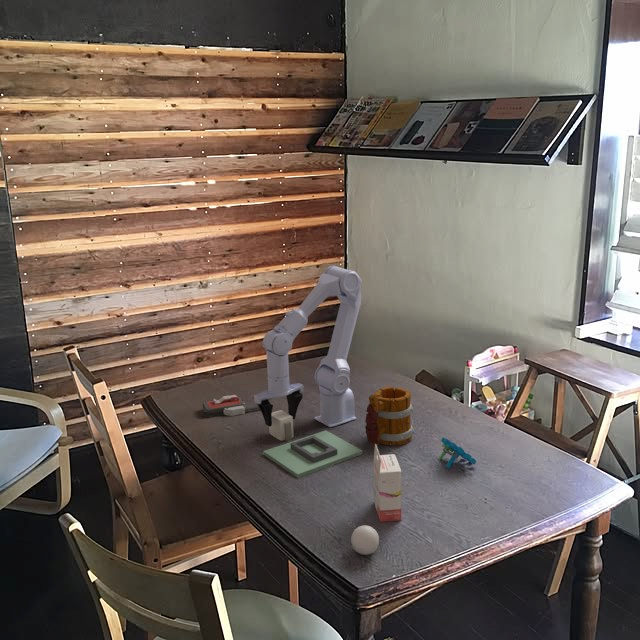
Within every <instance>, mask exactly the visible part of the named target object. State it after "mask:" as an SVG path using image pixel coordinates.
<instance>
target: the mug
mask: <svg viewBox="0 0 640 640" xmlns="http://www.w3.org/2000/svg"><path fill="white" fill-rule="evenodd" d="M411 398H412V394H411V392H410V391H409V390H407V389H405V388H402V387H394V386H386V387H385V386H384V387H382V388H379V389H378V390H376V391H374V394H370V395H369V396H368V401H369V404H368V406H367V408H366V414H365V415H366V416H365V427H364V429H365V434H366V436H367V440H368V442H369V443H370V444H371V446H372V447H375V444H376V446H377V447H378V445H379V444H381V445H384V446H402V445H406V444H408V443H409V442H412V439H413V434H414V432H415V430H414V427H413V425H412V423H411V422H412V421H411V420H412V419H411V414H412V413H413V411H414V408H413V405H412V403H411V402H412V401H411V400H412V399H411Z"/></svg>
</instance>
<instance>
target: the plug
mask: <svg viewBox="0 0 640 640" xmlns="http://www.w3.org/2000/svg"><path fill="white" fill-rule="evenodd" d="M268 428H269V429H268V430H269V432H268V433H269V435H271V436H273V437H274V438H275V439H277V440H279V441H281V442H282V441H287V442H288V441H291V440H293V438H294V419H293V417H292V416H291V415H289V413H287V412H285V411H284V410H282V409H280V410H279V409H278V410H276V411H272V426H270V427H269V426H268Z"/></svg>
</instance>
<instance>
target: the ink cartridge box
mask: <svg viewBox="0 0 640 640" xmlns="http://www.w3.org/2000/svg"><path fill="white" fill-rule="evenodd" d="M373 490H374V491H373V503H374V507H375V510H376V512H377V516H378V519H379V522H380V523H381V522H395V521H398V522H399V521H402V469H401V466H400V464H399V461H398V459H397V455H396V454H381V455H380V451H379V449H378V445H377V446H376V444H375V446H374V452H373Z"/></svg>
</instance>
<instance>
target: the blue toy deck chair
mask: <svg viewBox="0 0 640 640" xmlns="http://www.w3.org/2000/svg"><path fill="white" fill-rule="evenodd" d="M440 441H441V442H442V443H443V444H442V447H443V449H442V451H443V452H442V453H441V455H440V456H439V457H438V460H440V461H442V460H443V458H444V457H445V456H446V455H449V456H451V457H450V459H449V460H448V462H447V463H446V464H445V467H446V468H448V469H450V468H451V466H452V465H453V464H454V462H455V461H456V459H457V460H458V458H459V457H461V458H462V459H464V460H466V461H467V462H469V463H470V464H473V465H474V466H475V465H476V464H477V460H476V459H475V458H474V457H472V455H471V454H470V453H468V452H467V453H466V452H465V450H464V449H463V447H461V446H458V445H457V444H455V443H454V442H453V441H450V440H449V439H448V438H445V437H442V438H441V439H440Z"/></svg>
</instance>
